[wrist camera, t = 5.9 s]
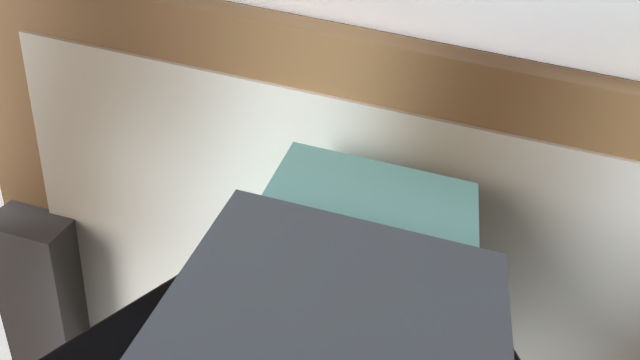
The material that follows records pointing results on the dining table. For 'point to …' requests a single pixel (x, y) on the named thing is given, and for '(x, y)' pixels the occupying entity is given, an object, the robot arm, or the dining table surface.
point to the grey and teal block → (338, 271)
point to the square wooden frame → (275, 140)
